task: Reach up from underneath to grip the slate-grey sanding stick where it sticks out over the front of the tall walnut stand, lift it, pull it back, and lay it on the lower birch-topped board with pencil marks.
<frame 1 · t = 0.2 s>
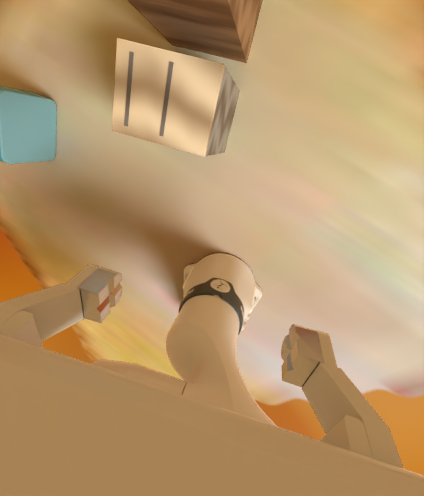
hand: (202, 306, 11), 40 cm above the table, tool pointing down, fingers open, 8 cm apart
data package: (48, 128, 52), on the table
tall stand: (217, 11, 38), on the table
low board: (197, 114, 44), on the table
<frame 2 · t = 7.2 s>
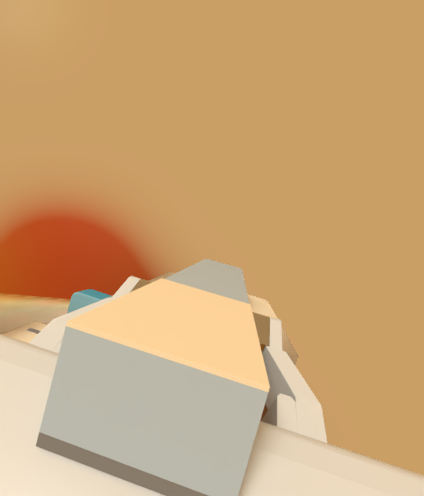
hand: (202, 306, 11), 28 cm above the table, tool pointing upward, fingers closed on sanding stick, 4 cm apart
data package: (89, 348, 55), on the table
sanding stick: (204, 315, 16), point 26 cm above the table, touching gripper, tall stand
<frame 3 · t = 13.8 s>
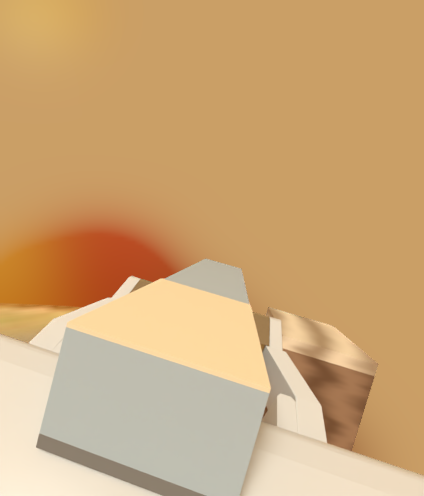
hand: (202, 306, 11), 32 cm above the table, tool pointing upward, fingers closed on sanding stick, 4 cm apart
sanding stick: (204, 315, 16), point 30 cm above the table, touching gripper
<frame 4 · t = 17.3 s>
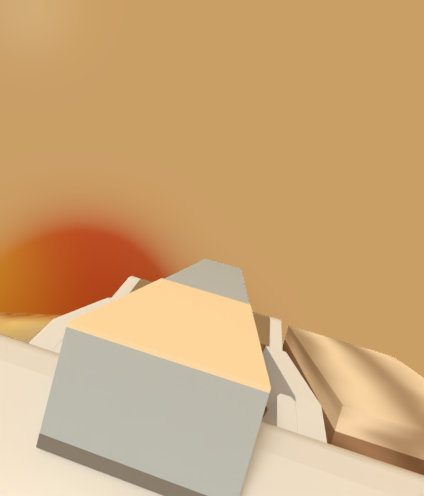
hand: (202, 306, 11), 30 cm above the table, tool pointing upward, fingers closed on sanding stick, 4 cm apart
sanding stick: (204, 315, 16), point 28 cm above the table, touching gripper
when the fingers open (19 cm above the table, at t = 20.3 s): sanding stick drops 1 cm, resting on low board.
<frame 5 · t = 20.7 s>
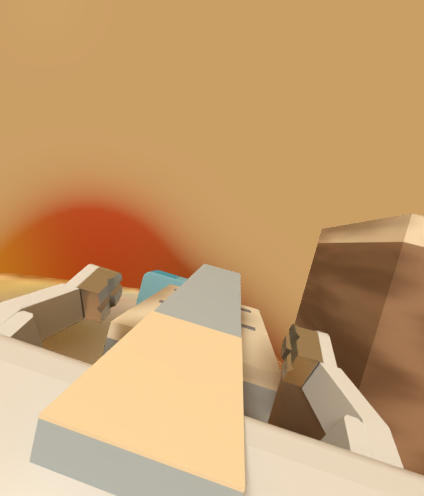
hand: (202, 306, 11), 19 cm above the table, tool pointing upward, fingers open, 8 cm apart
data package: (160, 330, 53), on the table
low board: (158, 492, 21), on the table
sanding stick: (199, 332, 16), point 16 cm above the table, touching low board
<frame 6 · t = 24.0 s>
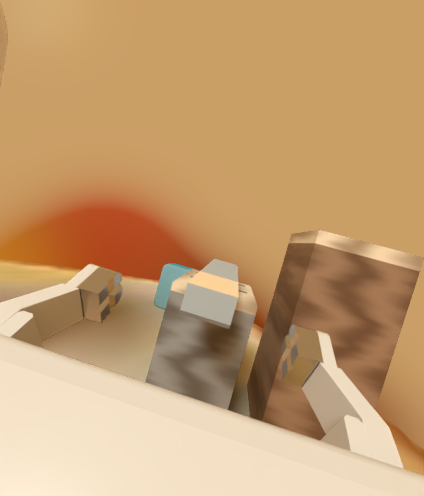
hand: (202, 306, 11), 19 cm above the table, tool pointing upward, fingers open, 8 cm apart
data package: (175, 310, 67), on the table
tall stand: (288, 424, 34), on the table
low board: (188, 391, 35), on the table
sanding stick: (216, 290, 30), point 16 cm above the table, touching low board
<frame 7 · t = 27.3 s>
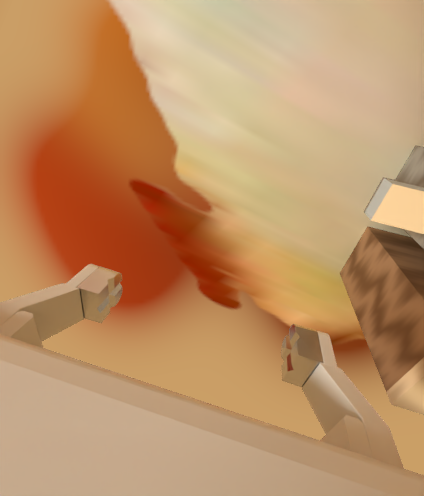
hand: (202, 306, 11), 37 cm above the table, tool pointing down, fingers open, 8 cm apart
tall stand: (387, 260, 47), on the table
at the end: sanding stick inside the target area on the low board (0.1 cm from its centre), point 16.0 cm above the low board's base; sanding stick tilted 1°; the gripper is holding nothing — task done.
